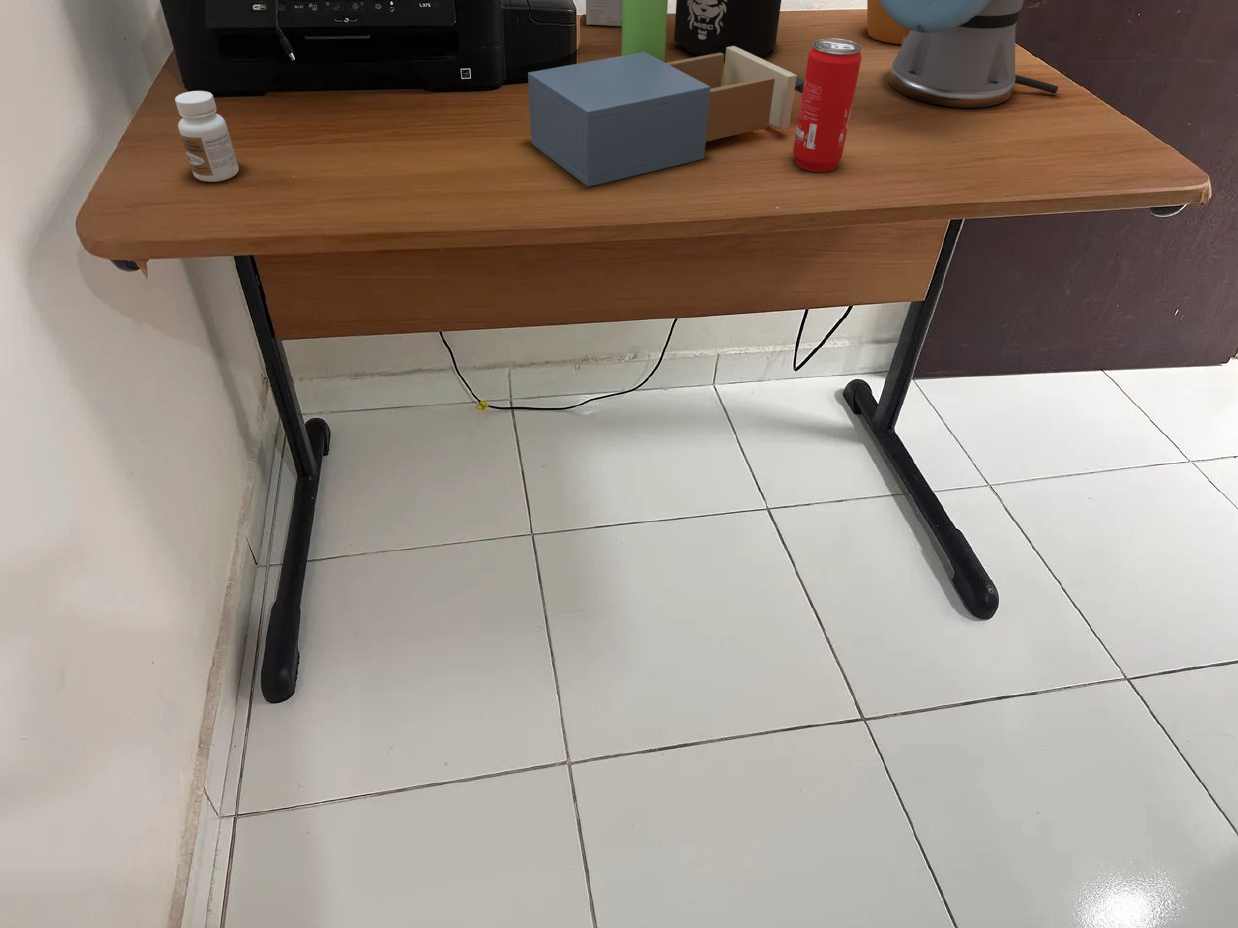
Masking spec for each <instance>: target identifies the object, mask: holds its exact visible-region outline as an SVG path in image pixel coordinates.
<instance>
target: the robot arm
mask: <svg viewBox="0 0 1238 928" xmlns="http://www.w3.org/2000/svg"><path fill="white" fill-rule="evenodd" d="M879 1H880V3H881V5H882V7H883V9H884V10H885V12H886V13H887V14H888V15H889V17H890V18H891V19H892V20H894V21H895V22H896V23H897V24H899V25H901V26H902V27H904V28H906V29H908V30H911V31H910V32H909V34H908V36H907V37H905V36H903V39H902V44H900V46H901V47H900V49H899V50H898V52H897V54H896V56H895V58H894V60H893V61H892V64H891V68H890V72H889V77H888V83H889V84H890V86H891V87H892V88H893V89H894V90H896V91H897V92H899V93H901V94H902V95H904V96H907V97H909V98H912V99H914V100H918V101H921V102H925V103H929V104H933V105H939V106H945V107H954V108H983V107H991V106H995V105H999V104H1001V103H1004V102H1006V101H1007V100H1008V99H1010V97H1011V95H1012V92H1013V89H1014V85H1015V84H1018V85H1021V86H1026V87H1029V88H1033V89H1036V90H1041V91H1044V92H1047V93H1051V94H1053V95H1054V94H1056V93H1057V92H1058V90H1059V86H1058V85H1055V84H1051V83H1048V82H1045V81H1041V80H1039V79H1038V80H1037V79H1034V78H1029V77H1026V76H1022V75H1018V74H1016V27H1017V24H1018V21H1019V17H1020V14H1021V10H1022V7H1023V4H1024V1H1025V0H879Z"/></svg>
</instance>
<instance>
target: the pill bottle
mask: <svg viewBox="0 0 1238 928" xmlns="http://www.w3.org/2000/svg"><path fill="white" fill-rule="evenodd" d="M174 101H175V105H176V108H177V111H178V114H179V116H180V117H182V118H181V119H180V120H179V121H178V124H177V128H178V131H179V134H180V137H181V141H182V144H183V148H184V150H185V153H186V156H187V159H188V163H189V165H190V169H191V172H192V174H193V177H194V178H195V179H196V180H199V181H202V182H206V183H218V182H223V181H226V180H230V179H231V178H233V177H235V176H236V175H238V173H239V170H240V168H239V164H238V161H237V157H236V153H235V150H234V146H233V143H232V140H231V136H230V133H229V128H228V125H227V122H226V119H224V118H223V116H222V115H220V114H218V113H216V112H217V105H216V101H215V97H214V95H213V94H212V93H211V92H210V91H207V90H206V91H205V90H192V91H191V90H190V91H186V92H185V91H184V92H183V93H180V94H178V95H177V96H175V98H174Z"/></svg>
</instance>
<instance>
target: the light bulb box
mask: <svg viewBox="0 0 1238 928" xmlns="http://www.w3.org/2000/svg"><path fill="white" fill-rule="evenodd" d="M622 4H623V0H585V25H586V26H592V25H593V26H608V27H609V26H610V27H622Z"/></svg>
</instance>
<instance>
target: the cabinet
mask: <svg viewBox="0 0 1238 928" xmlns="http://www.w3.org/2000/svg"><path fill="white" fill-rule="evenodd" d="M666 63H667V62H666V61H665V62H663V61H661V60H659V59H657V58H655V57H653V56H651V55H649V54H648V53H646V52H641V53H635V54H630V55H624V56H621V55H619V56H613V57H608V58H603V59H596V60H591V61H586V62H585V61H584V62H579V63H574V64H569V65H563V66H557V67H552V68H547V69H546V68H545V69H541V70H536V71H535V70H534V71H529V72H527V80H528V102H529V121H530V124H529V125H530V137H531V138H530V139H531V140H530V141H531V145H533V146H534V147H535V148H536V149H538V150H539V151H541V152H542V153H543V154H544V155H545V156H547V157H548V158H550V159H551V160H553V162H554V163H556V164H557V165H559V166H560V167H561V168H562V169H564V170H565V171H566V172H568V173H569V174H570V175H572V176H573V177H574V178H575V179H577V180H578V181H579V182H581V183H582V185H584V186H586V187H587V188H589V187H593V186H598V185H603V184H606V183H610V182H614V181H618V180H622V179H627V178H631V177H635V176H640V175H642V174H647V173H651V172H655V171H659V170H662V169H667V168H671V167H675V166H679V165H683V164H688V163H691V162H695V161H699V160H704V159H705V151H706V143H707V142H706V132H707V120H708V109H709V98H710V95H709V94H710V86H708V85H706V84H704V83H702V82H700V81H699V80H697V79H695V78H693V77H691V76H689V75H687V74H685V73H683V72H682V71H680V70H678V69H676V68H674V67H672V66H670V65H668V64H666Z"/></svg>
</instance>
